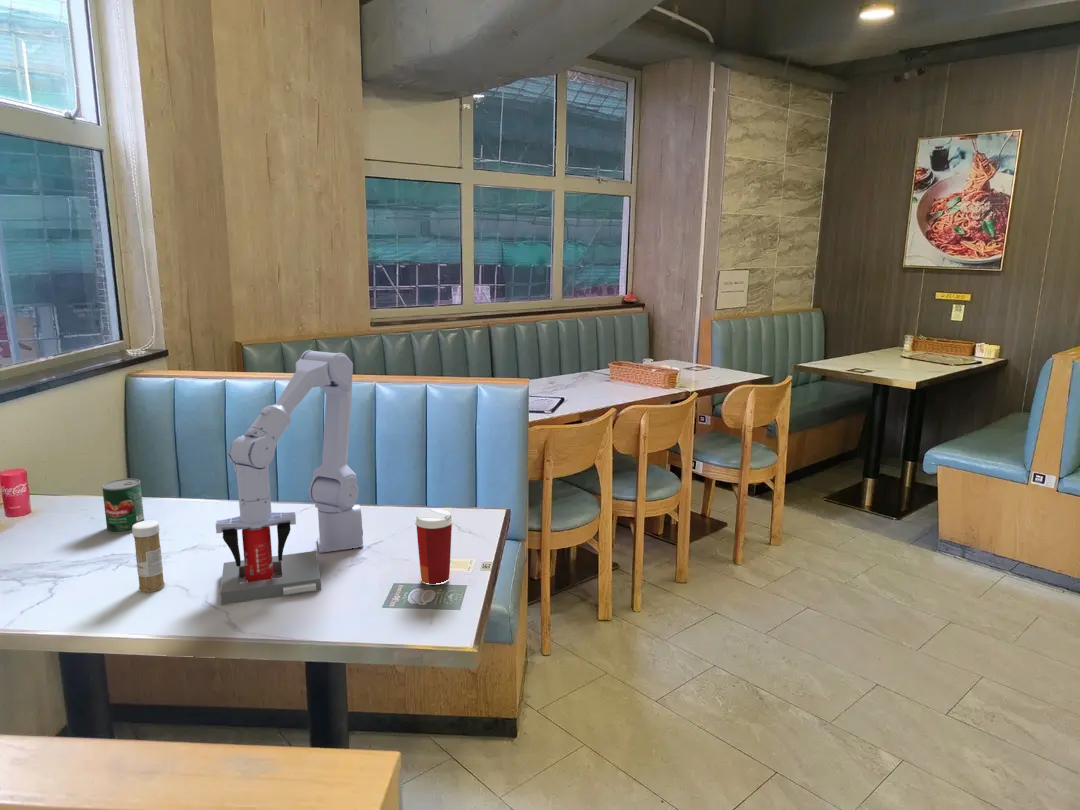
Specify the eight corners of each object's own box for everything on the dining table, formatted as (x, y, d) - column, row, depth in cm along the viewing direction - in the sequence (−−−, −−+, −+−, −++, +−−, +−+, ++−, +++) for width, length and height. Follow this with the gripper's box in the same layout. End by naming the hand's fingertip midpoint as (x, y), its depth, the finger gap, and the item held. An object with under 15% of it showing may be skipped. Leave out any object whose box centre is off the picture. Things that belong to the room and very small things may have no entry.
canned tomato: (106, 536, 167) (101, 491, 165) (107, 525, 174) (101, 481, 171) (145, 530, 171) (140, 485, 168) (144, 519, 177) (139, 476, 175)
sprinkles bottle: (135, 588, 142) (127, 524, 139) (159, 580, 145) (152, 517, 142) (145, 595, 139) (137, 530, 136) (169, 587, 142) (162, 523, 139)
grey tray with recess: (316, 561, 154) (315, 550, 154) (321, 592, 141) (321, 581, 140) (224, 574, 148) (223, 562, 148) (221, 608, 134) (220, 595, 134)
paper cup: (460, 575, 149) (459, 510, 146) (443, 591, 142) (442, 524, 139) (426, 569, 151) (425, 506, 148) (408, 584, 144) (406, 518, 141)
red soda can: (264, 588, 142) (259, 530, 140) (240, 585, 143) (235, 528, 141) (278, 576, 147) (274, 521, 145) (256, 574, 148) (251, 519, 146)
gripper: (212, 507, 134) (218, 575, 137) (294, 499, 139) (299, 564, 142) (214, 495, 141) (220, 560, 144) (293, 487, 146) (297, 550, 149)
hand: (259, 561), depth 143 cm, fingers open, 7 cm apart
